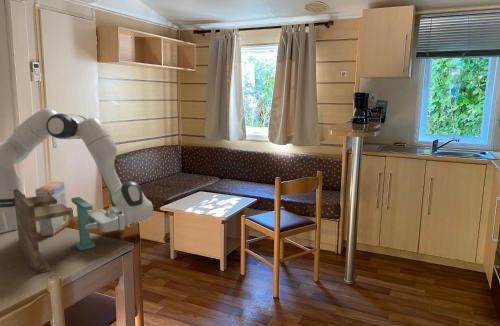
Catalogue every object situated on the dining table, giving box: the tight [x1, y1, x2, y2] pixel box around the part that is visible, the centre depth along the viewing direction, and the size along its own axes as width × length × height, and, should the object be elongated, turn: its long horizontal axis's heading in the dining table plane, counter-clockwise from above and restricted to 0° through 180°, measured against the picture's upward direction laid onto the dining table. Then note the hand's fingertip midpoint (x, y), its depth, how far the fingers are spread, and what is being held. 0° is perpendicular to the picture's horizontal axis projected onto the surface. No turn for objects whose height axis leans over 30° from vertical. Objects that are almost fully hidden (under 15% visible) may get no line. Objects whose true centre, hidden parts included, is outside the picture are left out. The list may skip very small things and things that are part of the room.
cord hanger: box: [71, 196, 96, 252], centre depth 153 cm, size 6×16×18 cm, turn 40°
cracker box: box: [35, 181, 69, 237], centre depth 171 cm, size 14×6×21 cm, turn 178°
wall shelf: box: [13, 189, 72, 275], centre depth 144 cm, size 12×28×24 cm, turn 40°
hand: (81, 224), depth 153 cm, fingers open, 7 cm apart
